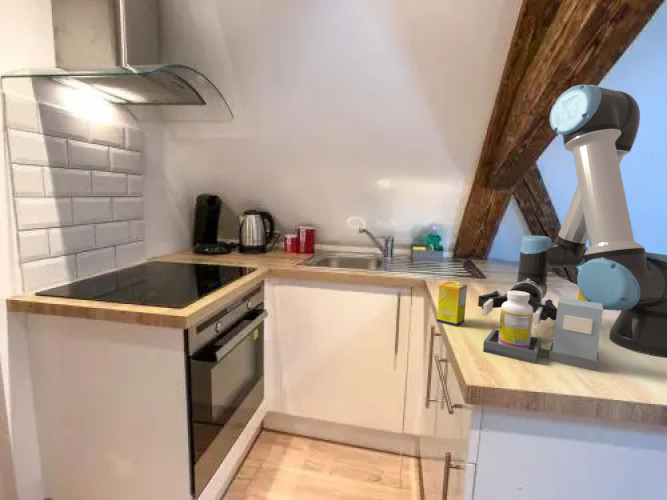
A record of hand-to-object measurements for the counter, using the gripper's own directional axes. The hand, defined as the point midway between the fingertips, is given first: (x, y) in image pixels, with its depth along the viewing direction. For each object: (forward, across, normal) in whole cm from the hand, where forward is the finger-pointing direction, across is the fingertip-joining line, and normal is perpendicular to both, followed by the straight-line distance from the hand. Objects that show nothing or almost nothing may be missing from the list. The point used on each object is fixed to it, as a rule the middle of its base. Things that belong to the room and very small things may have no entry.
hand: (509, 314), depth 86 cm
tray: (-4, +1, +9) cm, 10 cm away
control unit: (-6, +13, +9) cm, 17 cm away
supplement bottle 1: (-4, +1, +9) cm, 10 cm away
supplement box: (-16, -18, +10) cm, 26 cm away
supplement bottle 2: (-64, +13, +10) cm, 66 cm away
